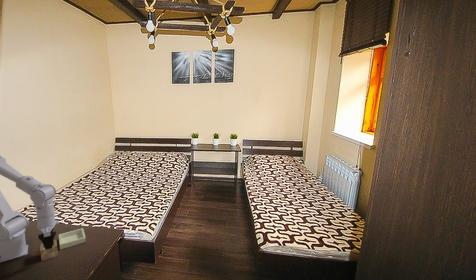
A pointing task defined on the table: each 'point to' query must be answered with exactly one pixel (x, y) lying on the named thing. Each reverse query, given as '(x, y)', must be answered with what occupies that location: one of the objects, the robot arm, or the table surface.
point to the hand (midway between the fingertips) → (48, 243)
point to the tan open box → (48, 251)
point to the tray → (72, 238)
